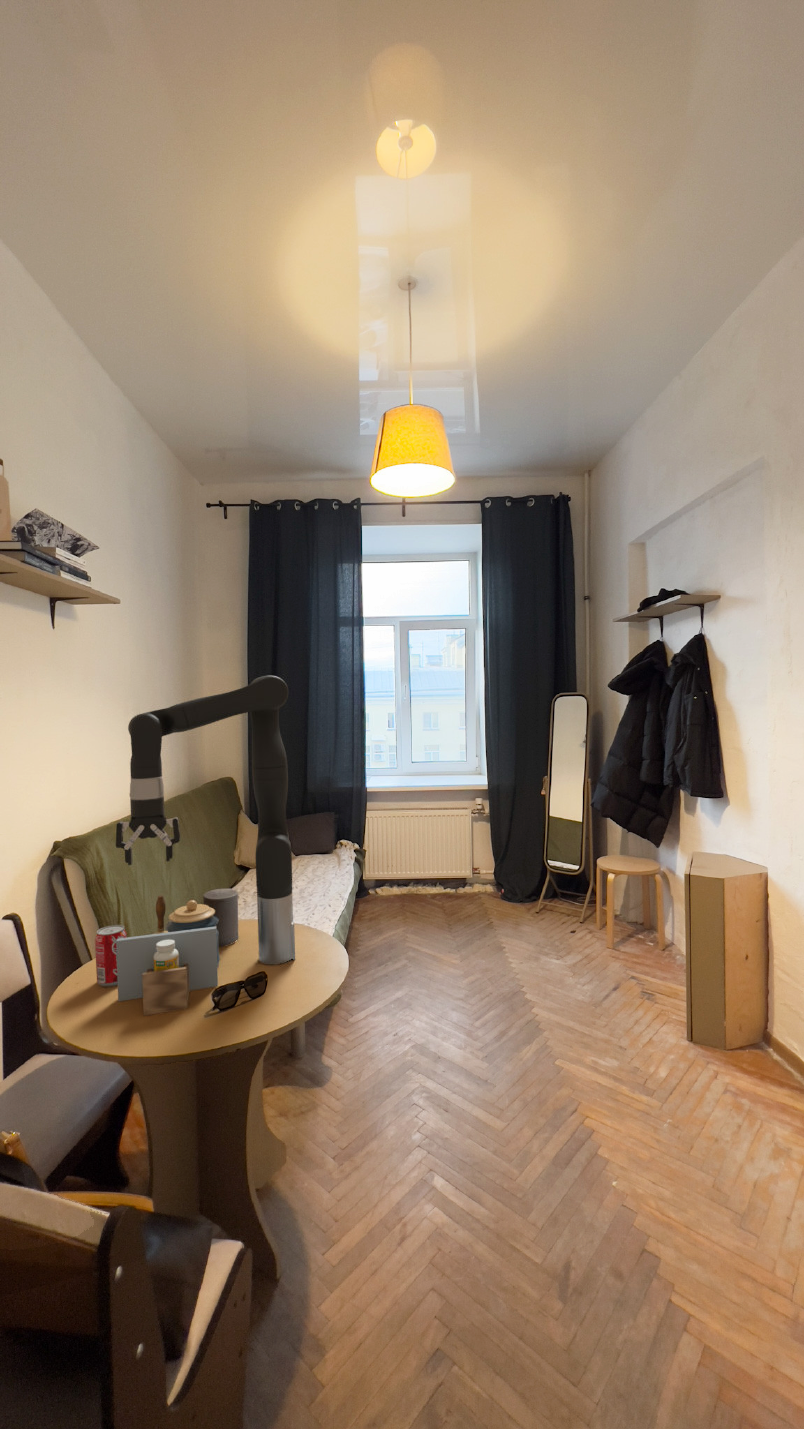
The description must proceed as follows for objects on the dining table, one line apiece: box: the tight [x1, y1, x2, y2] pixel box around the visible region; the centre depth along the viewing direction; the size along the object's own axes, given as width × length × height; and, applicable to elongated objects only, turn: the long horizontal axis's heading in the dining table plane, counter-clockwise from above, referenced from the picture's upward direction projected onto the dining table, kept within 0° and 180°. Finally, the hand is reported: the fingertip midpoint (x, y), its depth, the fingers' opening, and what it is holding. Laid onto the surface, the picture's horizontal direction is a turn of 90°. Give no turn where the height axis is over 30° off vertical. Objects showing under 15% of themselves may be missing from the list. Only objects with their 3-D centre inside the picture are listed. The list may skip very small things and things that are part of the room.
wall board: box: [116, 927, 219, 1002], centre depth 143 cm, size 22×2×14 cm, turn 107°
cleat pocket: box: [142, 964, 190, 1016], centre depth 138 cm, size 9×9×9 cm
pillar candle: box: [202, 888, 239, 948], centre depth 174 cm, size 10×10×15 cm
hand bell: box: [154, 894, 168, 934], centre depth 166 cm, size 8×8×16 cm
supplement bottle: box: [154, 940, 179, 971], centre depth 138 cm, size 5×5×10 cm
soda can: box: [94, 924, 128, 987], centre depth 150 cm, size 7×7×13 cm
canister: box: [165, 899, 221, 968], centre depth 156 cm, size 13×13×18 cm
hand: (149, 862), depth 146 cm, fingers open, 8 cm apart
